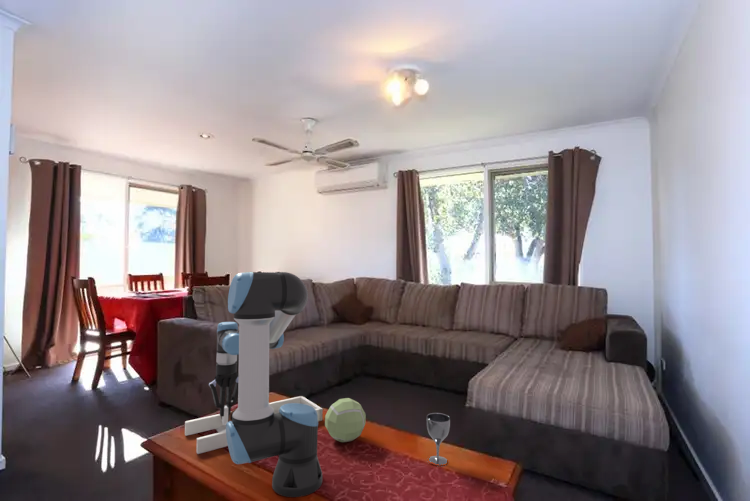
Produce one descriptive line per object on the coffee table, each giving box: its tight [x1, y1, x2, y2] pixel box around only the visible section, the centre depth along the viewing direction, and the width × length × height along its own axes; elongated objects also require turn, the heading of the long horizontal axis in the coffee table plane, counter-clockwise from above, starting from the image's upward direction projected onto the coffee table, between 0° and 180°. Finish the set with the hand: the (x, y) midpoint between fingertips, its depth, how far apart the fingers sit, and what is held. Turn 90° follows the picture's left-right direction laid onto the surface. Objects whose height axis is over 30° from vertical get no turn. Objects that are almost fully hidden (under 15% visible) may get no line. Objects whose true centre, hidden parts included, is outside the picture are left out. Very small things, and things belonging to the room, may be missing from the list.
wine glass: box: [426, 412, 451, 465], centre depth 138 cm, size 8×8×15 cm
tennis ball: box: [324, 397, 367, 443], centre depth 153 cm, size 15×15×15 cm
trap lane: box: [184, 395, 324, 455], centre depth 163 cm, size 19×50×7 cm, turn 128°
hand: (224, 423), depth 155 cm, fingers closed
